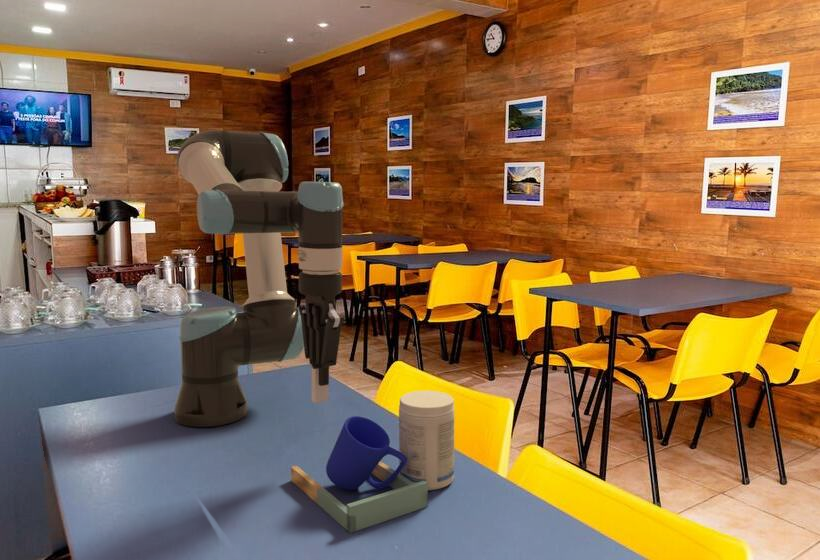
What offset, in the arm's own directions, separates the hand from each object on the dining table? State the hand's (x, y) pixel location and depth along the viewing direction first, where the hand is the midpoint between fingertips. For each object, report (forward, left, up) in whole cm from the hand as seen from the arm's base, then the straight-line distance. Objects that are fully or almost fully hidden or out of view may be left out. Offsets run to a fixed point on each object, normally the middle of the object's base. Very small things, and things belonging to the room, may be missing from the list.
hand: (320, 400), depth 112 cm
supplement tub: (+16, +12, -12) cm, 23 cm away
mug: (+11, 0, -12) cm, 16 cm away
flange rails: (+13, 0, -12) cm, 18 cm away
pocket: (+13, 0, -12) cm, 18 cm away
